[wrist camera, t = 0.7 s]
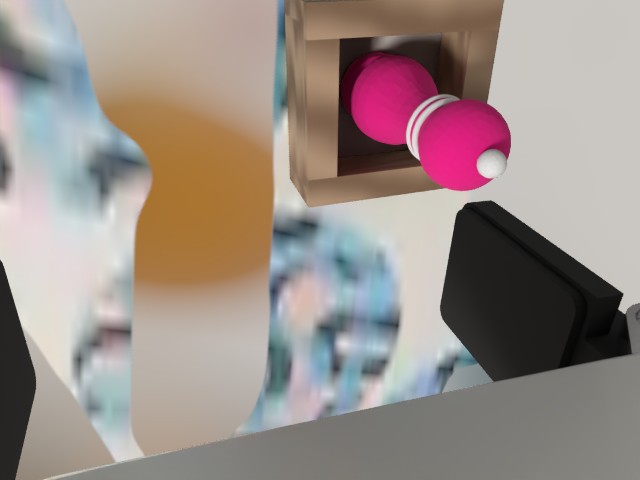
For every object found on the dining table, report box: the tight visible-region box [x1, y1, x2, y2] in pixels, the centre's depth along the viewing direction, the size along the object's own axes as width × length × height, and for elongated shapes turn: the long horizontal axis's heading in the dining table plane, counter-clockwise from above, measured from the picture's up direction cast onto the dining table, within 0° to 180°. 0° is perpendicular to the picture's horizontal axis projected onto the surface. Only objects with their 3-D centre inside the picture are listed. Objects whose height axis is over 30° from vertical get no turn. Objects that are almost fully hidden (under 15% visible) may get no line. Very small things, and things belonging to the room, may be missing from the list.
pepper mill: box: [341, 52, 511, 191], centre depth 40 cm, size 7×7×20 cm
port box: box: [285, 0, 504, 207], centre depth 45 cm, size 16×16×6 cm
